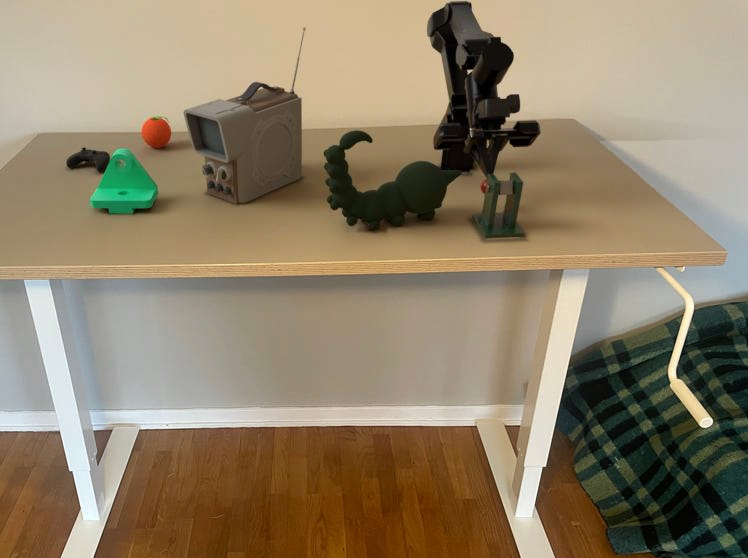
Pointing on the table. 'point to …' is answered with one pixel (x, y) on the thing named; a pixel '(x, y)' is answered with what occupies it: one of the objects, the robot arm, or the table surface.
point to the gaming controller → (89, 158)
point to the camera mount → (124, 185)
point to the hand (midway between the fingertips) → (489, 178)
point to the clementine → (156, 132)
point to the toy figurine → (385, 188)
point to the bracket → (500, 222)
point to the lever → (501, 187)
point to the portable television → (249, 141)
